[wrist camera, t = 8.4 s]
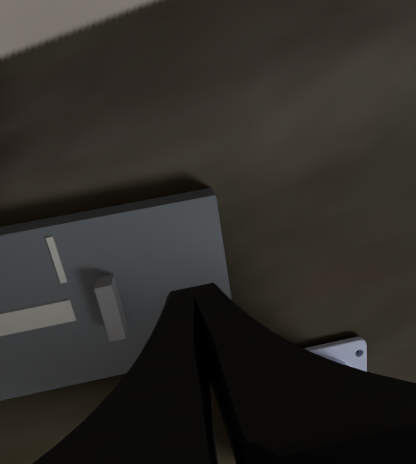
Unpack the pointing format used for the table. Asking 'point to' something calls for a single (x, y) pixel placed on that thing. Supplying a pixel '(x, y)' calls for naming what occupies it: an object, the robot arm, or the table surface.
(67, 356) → the console
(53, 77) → the table surface
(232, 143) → the table surface
